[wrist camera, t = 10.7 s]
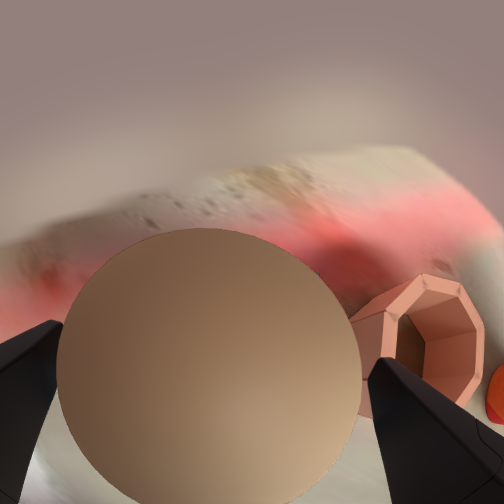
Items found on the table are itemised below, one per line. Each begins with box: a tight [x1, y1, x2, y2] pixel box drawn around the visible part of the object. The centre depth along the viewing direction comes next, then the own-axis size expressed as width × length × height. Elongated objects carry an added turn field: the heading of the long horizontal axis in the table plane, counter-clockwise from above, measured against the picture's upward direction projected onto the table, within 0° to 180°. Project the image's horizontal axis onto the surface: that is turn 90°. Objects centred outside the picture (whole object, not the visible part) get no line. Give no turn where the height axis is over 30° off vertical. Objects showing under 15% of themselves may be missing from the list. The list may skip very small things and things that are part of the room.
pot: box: [349, 273, 484, 419], centre depth 14 cm, size 8×8×5 cm
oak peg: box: [56, 228, 362, 504], centre depth 9 cm, size 4×4×12 cm
